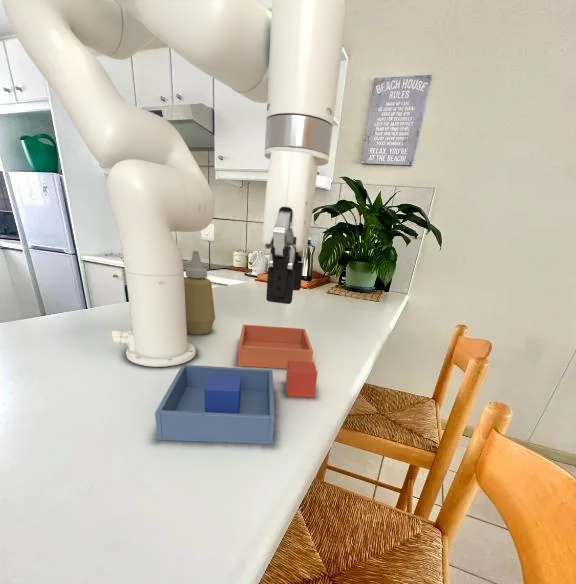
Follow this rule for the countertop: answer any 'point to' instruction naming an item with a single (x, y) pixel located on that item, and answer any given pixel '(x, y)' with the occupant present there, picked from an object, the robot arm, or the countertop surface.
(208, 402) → the blue block
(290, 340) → the red bin
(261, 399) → the blue bin
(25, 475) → the countertop surface
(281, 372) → the countertop surface
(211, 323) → the squeeze bottle
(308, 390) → the red block
